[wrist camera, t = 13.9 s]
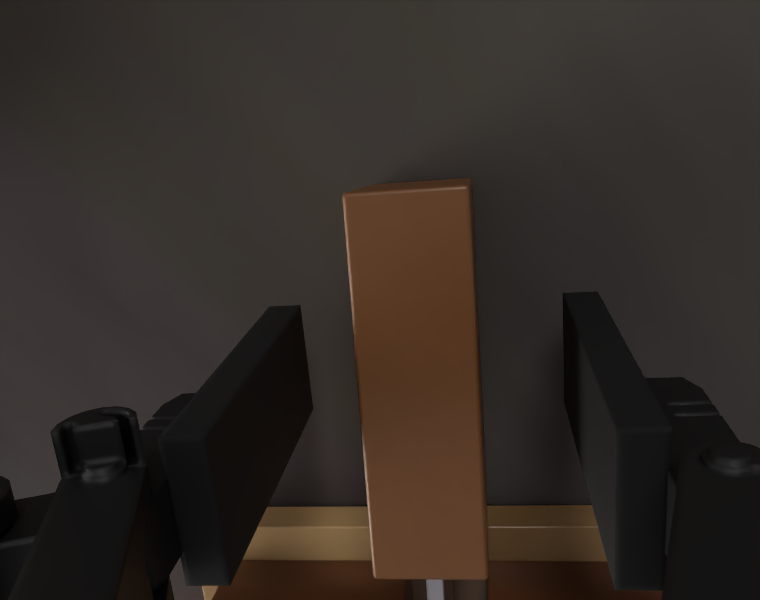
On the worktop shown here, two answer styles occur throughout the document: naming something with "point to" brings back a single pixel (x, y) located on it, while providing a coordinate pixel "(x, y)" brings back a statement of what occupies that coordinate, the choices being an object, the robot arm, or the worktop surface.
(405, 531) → the knife
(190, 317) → the worktop surface
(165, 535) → the robot arm
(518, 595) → the cake
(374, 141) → the worktop surface
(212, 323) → the worktop surface
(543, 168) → the worktop surface
